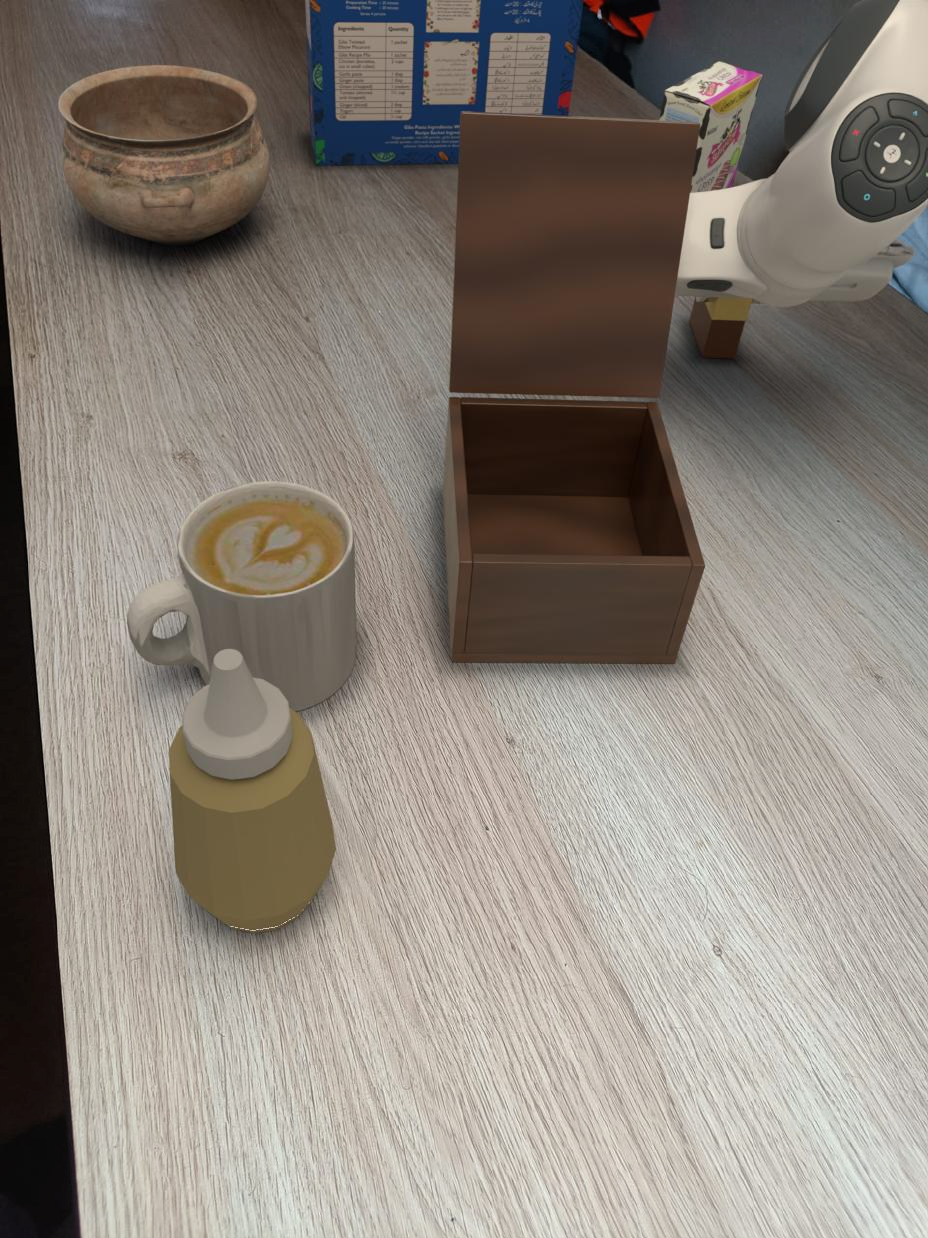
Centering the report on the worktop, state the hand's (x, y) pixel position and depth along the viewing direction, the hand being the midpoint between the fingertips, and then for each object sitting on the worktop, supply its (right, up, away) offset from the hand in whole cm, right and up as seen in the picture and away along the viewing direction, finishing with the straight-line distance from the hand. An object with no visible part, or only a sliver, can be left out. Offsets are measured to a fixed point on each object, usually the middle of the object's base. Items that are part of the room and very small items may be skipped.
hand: (728, 293), depth 92 cm
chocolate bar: (0, -3, +5) cm, 6 cm away
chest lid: (-16, -5, -24) cm, 29 cm away
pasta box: (-26, +26, +30) cm, 47 cm away
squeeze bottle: (-34, -42, -36) cm, 65 cm away
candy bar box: (-1, +9, +17) cm, 19 cm away
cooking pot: (-51, +10, +13) cm, 54 cm away
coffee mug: (-36, -31, -25) cm, 54 cm away
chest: (-17, -25, -18) cm, 35 cm away
